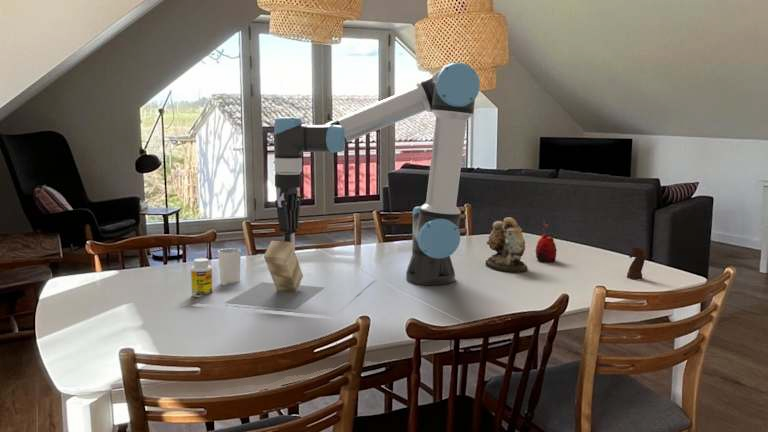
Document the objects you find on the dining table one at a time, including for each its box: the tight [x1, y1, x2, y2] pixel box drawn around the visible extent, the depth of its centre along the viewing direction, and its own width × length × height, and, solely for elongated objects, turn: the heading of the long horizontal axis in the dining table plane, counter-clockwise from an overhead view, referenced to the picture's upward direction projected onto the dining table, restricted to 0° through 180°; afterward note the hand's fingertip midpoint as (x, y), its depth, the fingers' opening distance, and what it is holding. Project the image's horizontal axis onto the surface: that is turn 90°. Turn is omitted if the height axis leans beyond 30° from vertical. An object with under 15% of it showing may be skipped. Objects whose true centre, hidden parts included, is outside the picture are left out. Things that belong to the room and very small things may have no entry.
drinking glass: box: [217, 247, 242, 286], centre depth 190 cm, size 7×7×10 cm
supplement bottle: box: [190, 257, 213, 298], centre depth 177 cm, size 6×6×10 cm
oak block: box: [263, 240, 304, 292], centre depth 177 cm, size 6×6×14 cm
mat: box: [224, 281, 326, 313], centre depth 176 cm, size 20×22×1 cm
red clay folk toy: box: [535, 220, 557, 263], centre depth 223 cm, size 8×7×15 cm
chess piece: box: [626, 246, 646, 280], centre depth 200 cm, size 5×5×10 cm
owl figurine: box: [485, 216, 528, 274], centre depth 213 cm, size 18×12×17 cm, turn 28°
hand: (289, 255), depth 180 cm, fingers closed
